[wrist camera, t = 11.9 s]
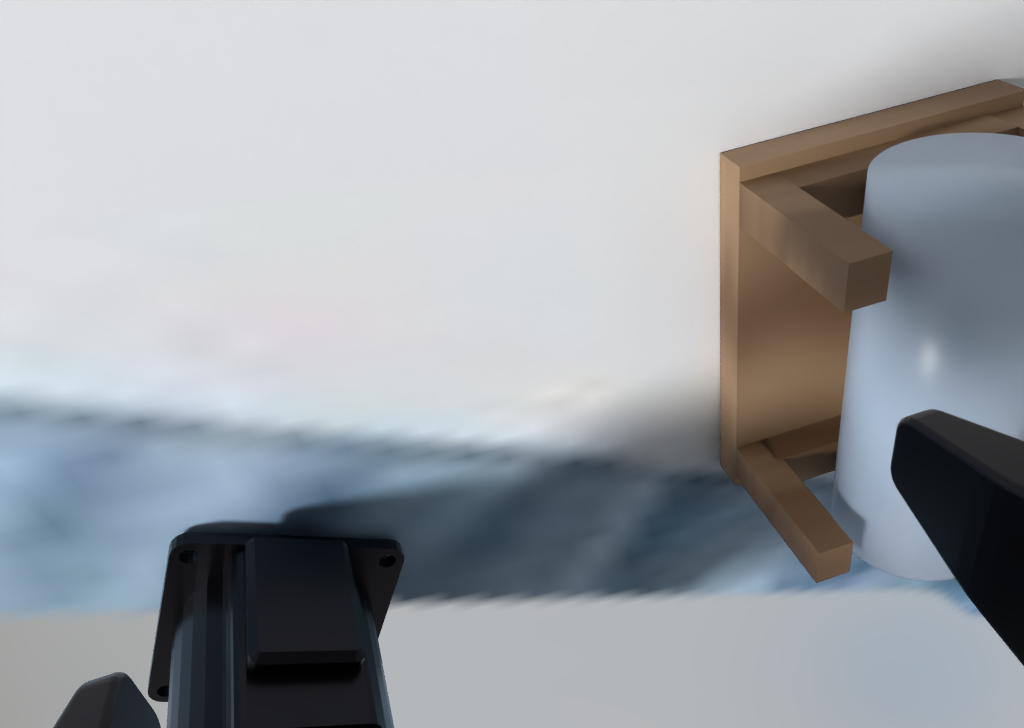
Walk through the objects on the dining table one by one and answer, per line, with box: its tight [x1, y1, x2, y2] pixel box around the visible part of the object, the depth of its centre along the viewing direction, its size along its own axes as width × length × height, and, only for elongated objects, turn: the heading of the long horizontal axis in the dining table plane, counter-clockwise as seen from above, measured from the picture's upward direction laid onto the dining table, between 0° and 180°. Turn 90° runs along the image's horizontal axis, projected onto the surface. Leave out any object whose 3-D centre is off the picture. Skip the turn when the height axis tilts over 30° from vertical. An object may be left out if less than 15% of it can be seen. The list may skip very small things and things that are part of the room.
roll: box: [831, 133, 1024, 581], centre depth 21 cm, size 11×4×4 cm, turn 9°
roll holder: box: [720, 80, 1024, 583], centre depth 23 cm, size 11×8×6 cm
